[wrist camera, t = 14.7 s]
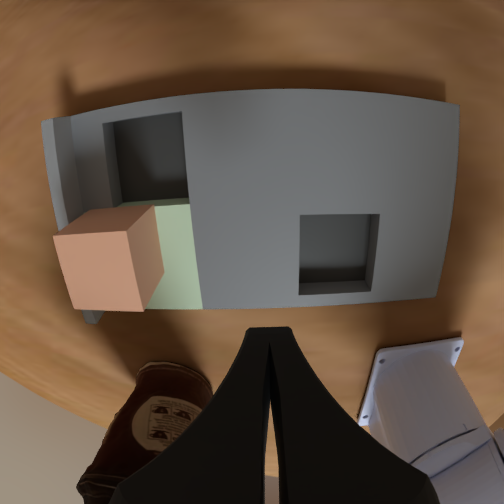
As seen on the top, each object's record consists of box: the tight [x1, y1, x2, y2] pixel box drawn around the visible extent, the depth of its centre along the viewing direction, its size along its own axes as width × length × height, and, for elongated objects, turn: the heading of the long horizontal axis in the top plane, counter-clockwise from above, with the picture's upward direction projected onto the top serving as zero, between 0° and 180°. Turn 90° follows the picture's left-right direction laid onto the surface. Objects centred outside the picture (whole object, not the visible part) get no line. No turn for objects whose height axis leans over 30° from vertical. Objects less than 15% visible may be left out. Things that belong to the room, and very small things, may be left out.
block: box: [53, 204, 164, 312], centre depth 16 cm, size 4×4×4 cm
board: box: [41, 89, 460, 324], centre depth 16 cm, size 12×22×3 cm, turn 93°
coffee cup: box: [76, 361, 213, 504], centre depth 18 cm, size 9×8×13 cm
